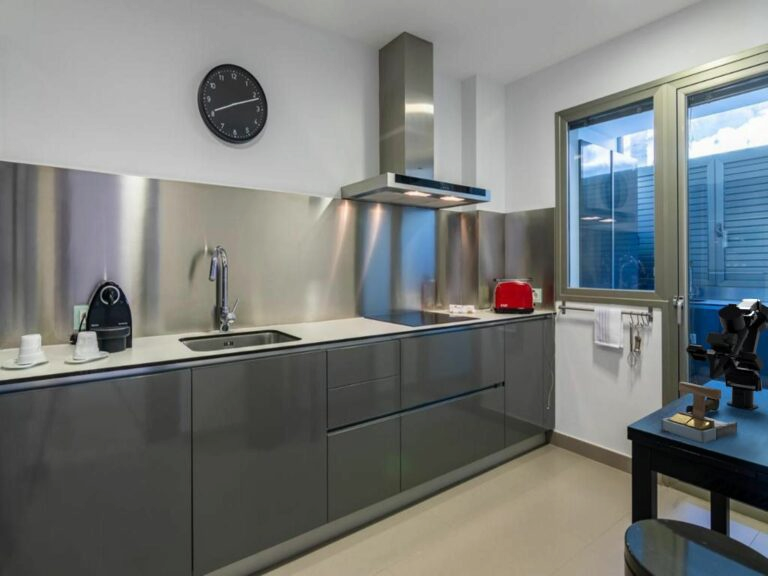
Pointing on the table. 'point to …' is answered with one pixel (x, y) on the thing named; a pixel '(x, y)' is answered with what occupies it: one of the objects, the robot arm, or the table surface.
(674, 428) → the tray
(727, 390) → the table surface
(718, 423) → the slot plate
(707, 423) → the chip
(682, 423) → the chip
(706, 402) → the hand tool
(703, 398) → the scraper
